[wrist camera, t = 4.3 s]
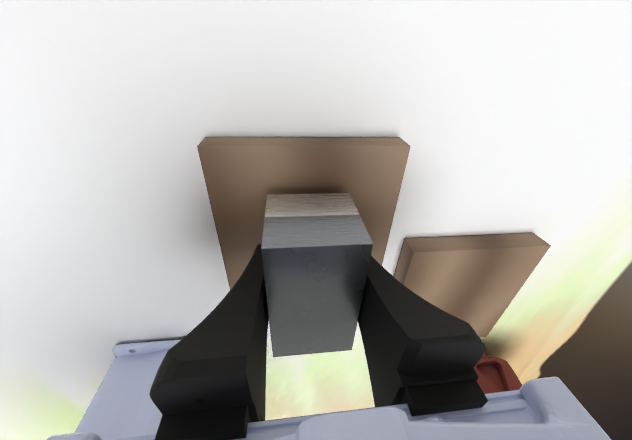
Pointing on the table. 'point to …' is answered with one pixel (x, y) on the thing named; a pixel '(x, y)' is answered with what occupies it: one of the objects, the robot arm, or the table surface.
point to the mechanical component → (496, 375)
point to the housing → (313, 271)
